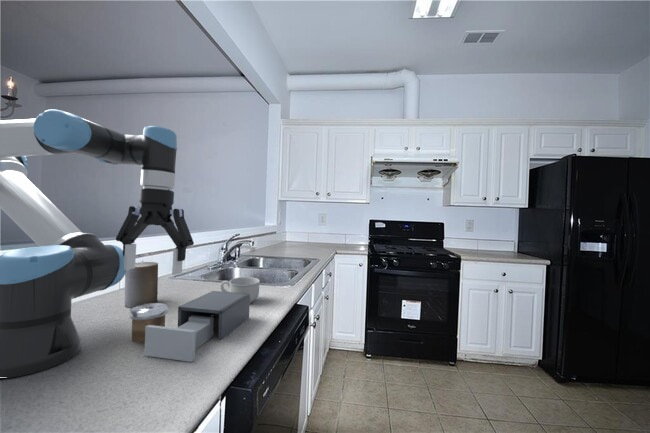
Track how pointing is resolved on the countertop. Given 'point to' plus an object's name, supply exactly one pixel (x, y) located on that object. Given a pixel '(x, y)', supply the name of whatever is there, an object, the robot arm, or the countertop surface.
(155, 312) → the disc
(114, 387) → the countertop surface
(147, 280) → the pillar candle
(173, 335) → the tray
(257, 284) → the teacup
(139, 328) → the walnut block
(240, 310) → the drawer casing
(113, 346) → the countertop surface
